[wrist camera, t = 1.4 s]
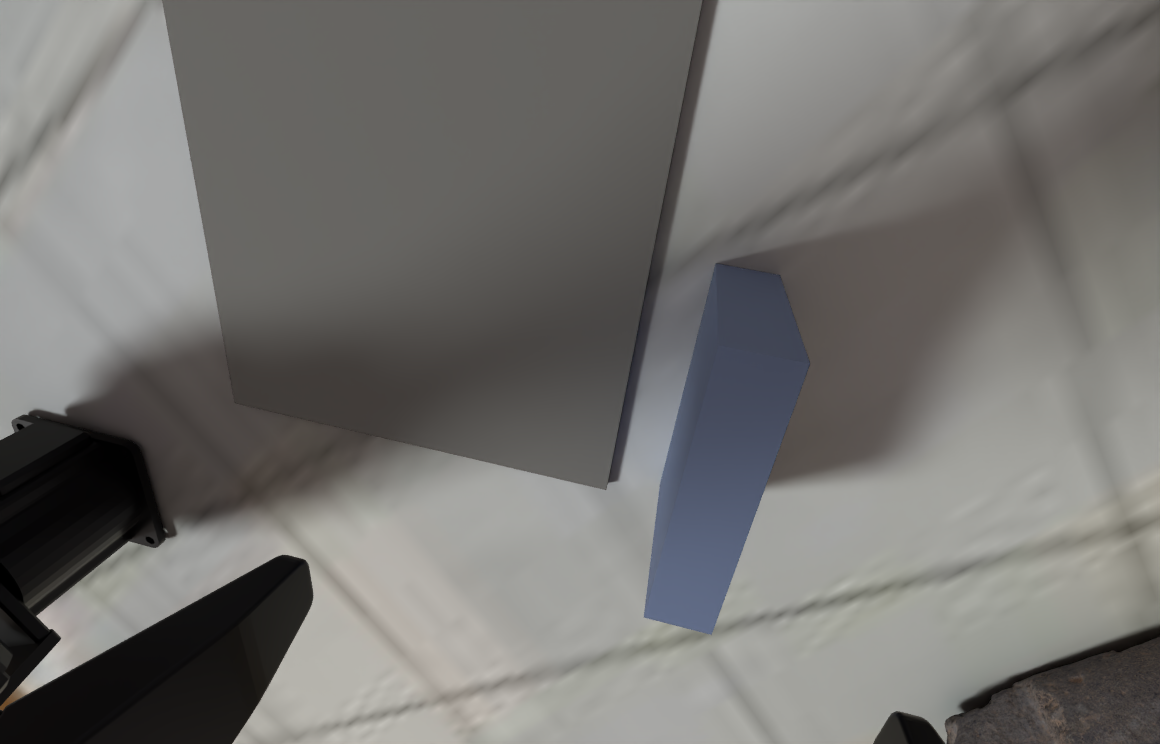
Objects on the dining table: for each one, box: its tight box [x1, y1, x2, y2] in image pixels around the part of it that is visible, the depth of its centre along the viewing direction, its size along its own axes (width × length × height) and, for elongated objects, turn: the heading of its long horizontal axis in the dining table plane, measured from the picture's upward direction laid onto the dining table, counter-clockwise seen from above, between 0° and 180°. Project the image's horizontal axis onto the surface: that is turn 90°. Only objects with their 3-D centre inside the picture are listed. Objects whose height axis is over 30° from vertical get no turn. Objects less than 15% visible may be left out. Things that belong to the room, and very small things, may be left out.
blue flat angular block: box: [644, 263, 810, 635], centre depth 18 cm, size 9×2×6 cm, turn 172°
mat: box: [162, 0, 703, 490], centre depth 20 cm, size 18×16×1 cm
